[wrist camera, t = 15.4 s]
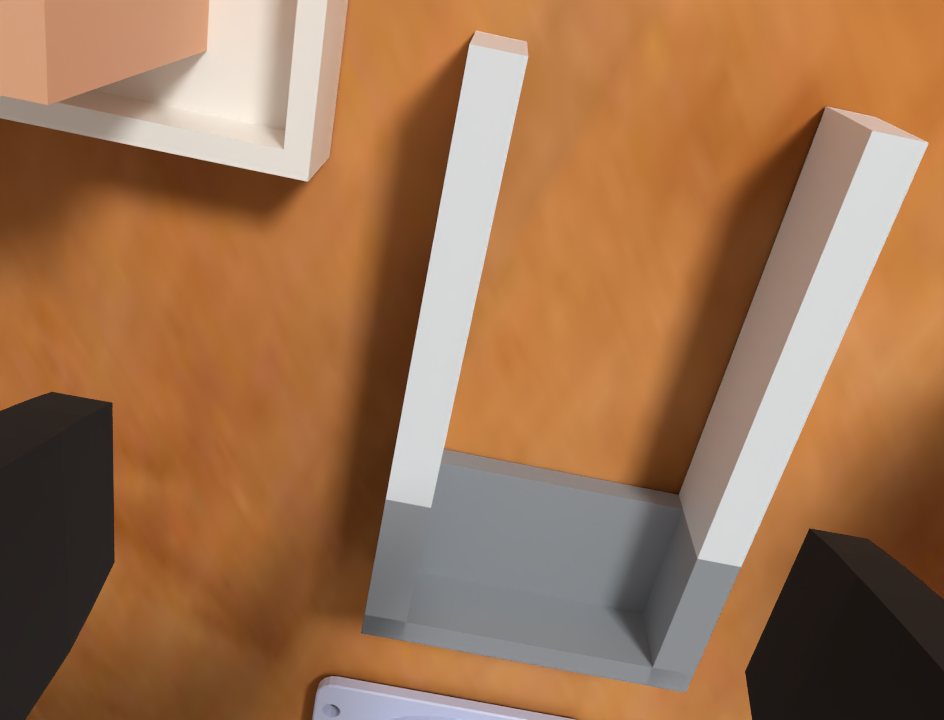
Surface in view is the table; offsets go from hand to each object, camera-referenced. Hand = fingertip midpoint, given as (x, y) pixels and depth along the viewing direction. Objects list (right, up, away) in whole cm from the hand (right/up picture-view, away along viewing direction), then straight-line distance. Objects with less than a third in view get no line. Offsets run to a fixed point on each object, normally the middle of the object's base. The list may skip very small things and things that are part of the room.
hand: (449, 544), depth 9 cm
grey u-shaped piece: (+2, -3, +13) cm, 13 cm away
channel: (+3, +3, +10) cm, 11 cm away
